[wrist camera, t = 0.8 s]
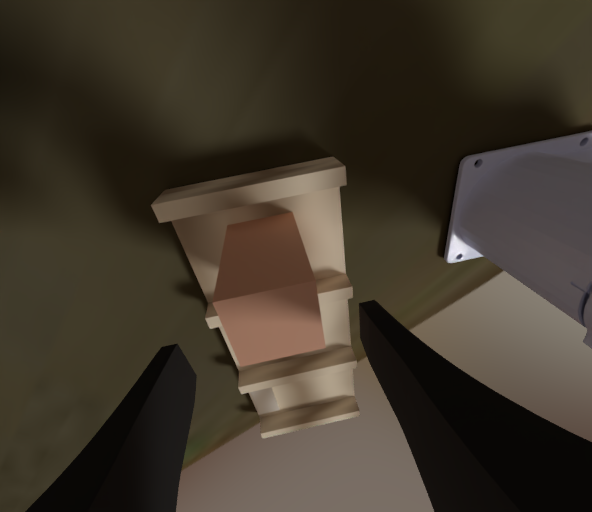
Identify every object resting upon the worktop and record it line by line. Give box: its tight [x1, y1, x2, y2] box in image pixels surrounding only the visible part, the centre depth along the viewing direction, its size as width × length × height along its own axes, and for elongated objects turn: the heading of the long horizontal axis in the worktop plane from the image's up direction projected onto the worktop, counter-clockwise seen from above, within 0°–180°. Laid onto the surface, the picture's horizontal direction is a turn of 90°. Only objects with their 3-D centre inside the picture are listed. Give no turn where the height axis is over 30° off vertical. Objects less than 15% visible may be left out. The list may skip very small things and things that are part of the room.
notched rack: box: [151, 157, 360, 438], centre depth 21 cm, size 10×25×2 cm, turn 9°
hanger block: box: [212, 212, 326, 367], centre depth 14 cm, size 4×4×7 cm
